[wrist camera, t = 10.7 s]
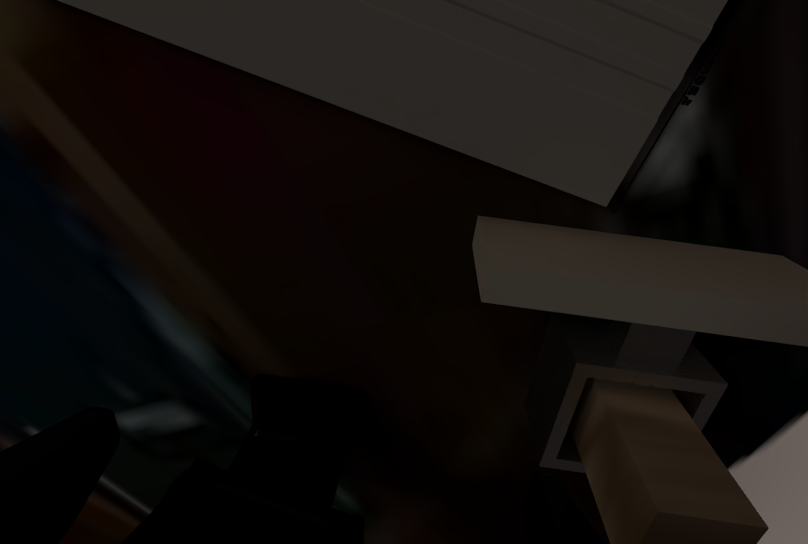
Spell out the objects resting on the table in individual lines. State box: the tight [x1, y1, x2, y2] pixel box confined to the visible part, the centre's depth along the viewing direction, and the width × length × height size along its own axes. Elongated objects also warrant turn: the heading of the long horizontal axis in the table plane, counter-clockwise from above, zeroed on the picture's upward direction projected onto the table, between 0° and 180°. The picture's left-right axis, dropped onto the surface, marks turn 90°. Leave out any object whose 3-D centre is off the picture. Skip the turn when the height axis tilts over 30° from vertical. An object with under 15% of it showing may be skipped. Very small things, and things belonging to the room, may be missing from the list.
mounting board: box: [472, 216, 808, 347], centre depth 18 cm, size 2×14×6 cm, turn 83°
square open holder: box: [524, 312, 728, 473], centre depth 19 cm, size 8×6×4 cm
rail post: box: [569, 377, 768, 544], centre depth 17 cm, size 3×3×8 cm
